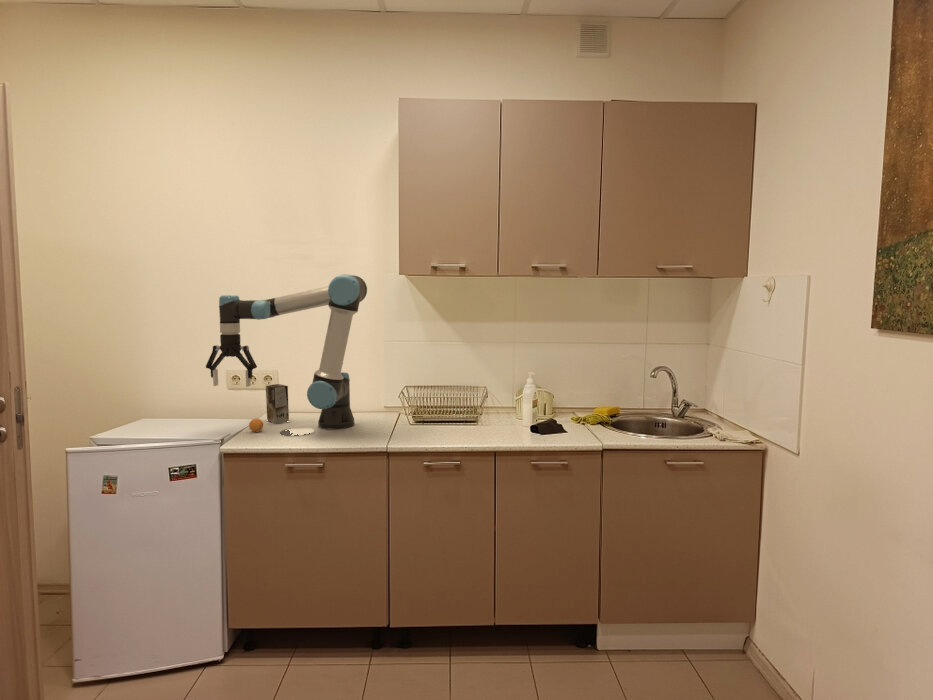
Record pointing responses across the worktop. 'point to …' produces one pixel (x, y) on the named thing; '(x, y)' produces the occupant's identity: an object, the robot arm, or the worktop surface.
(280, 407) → the coffee box
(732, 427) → the worktop surface
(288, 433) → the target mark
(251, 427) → the ball
